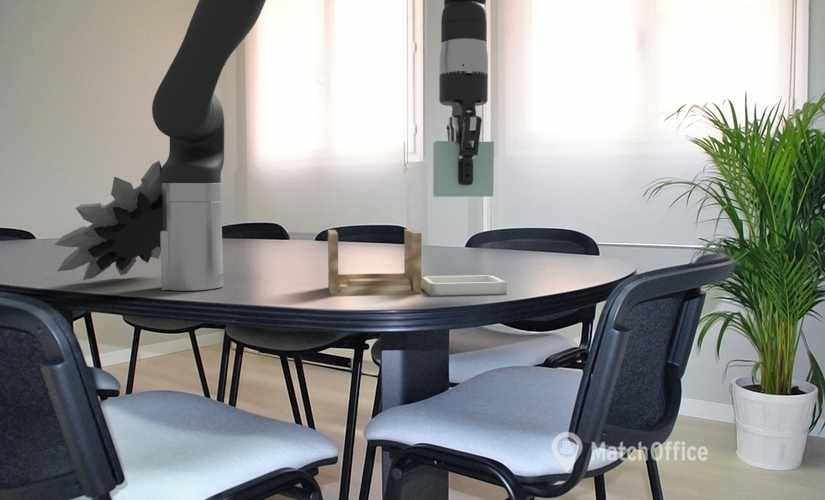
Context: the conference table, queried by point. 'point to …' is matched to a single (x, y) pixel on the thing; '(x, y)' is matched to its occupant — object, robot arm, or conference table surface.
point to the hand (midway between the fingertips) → (462, 184)
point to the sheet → (448, 171)
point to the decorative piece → (119, 227)
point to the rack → (410, 272)
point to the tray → (463, 285)
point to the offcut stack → (376, 285)
